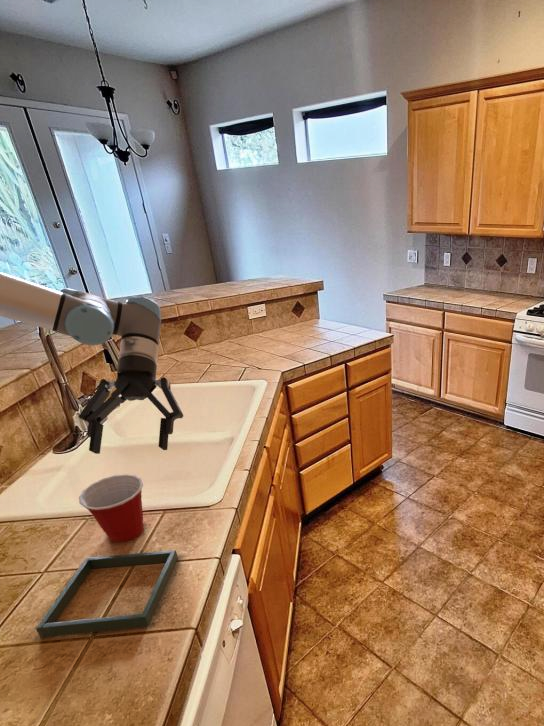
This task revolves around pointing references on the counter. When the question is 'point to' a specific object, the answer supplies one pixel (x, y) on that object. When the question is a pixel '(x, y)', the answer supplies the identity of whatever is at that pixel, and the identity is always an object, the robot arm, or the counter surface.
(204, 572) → the counter surface
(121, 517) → the plastic cup
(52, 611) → the grey square frame
